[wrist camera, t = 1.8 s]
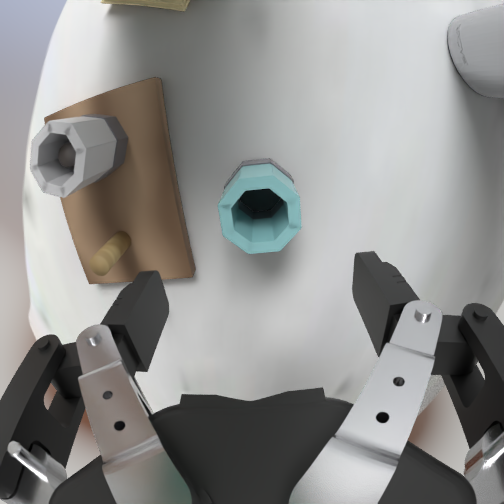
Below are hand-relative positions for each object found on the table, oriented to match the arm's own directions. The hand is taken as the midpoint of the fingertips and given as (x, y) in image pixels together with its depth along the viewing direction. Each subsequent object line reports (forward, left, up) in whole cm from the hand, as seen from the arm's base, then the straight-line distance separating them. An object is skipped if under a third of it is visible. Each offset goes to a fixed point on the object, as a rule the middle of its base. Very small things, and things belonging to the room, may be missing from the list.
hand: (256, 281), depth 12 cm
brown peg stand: (+13, -2, -14) cm, 19 cm away
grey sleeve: (+13, -6, -13) cm, 19 cm away
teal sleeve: (0, 0, -14) cm, 14 cm away
